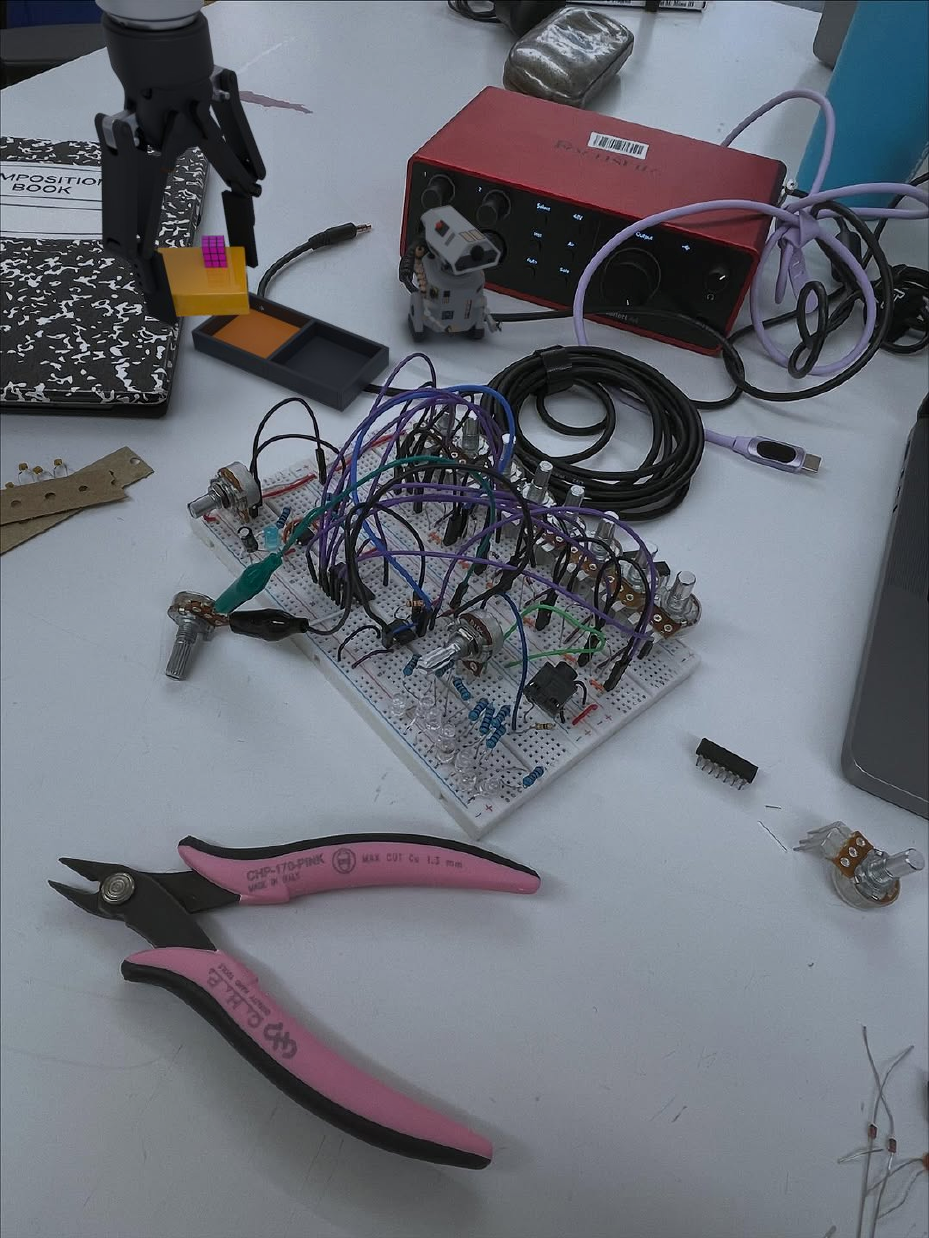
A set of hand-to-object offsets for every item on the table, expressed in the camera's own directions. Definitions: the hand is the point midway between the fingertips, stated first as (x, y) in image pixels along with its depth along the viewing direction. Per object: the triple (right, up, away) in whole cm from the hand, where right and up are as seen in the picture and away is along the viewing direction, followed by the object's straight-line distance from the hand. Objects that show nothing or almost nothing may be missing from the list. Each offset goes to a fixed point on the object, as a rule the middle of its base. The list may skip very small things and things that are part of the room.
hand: (206, 290), depth 75 cm
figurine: (+23, +3, +23) cm, 33 cm away
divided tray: (+4, 0, +18) cm, 19 cm away
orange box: (0, 0, 0) cm, 0 cm away
